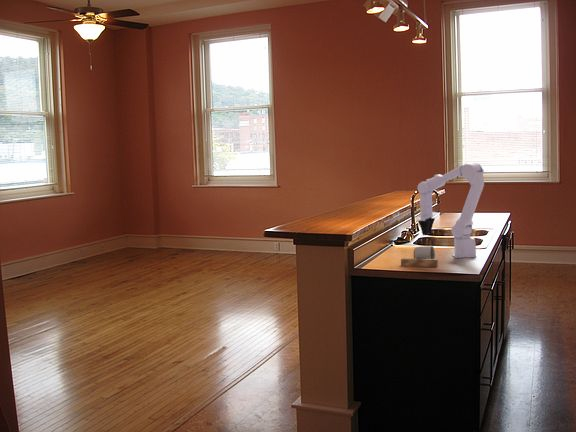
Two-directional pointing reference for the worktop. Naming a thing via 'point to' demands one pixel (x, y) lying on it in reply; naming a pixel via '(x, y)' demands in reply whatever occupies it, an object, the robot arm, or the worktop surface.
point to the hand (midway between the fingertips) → (426, 234)
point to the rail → (419, 262)
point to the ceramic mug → (424, 252)
